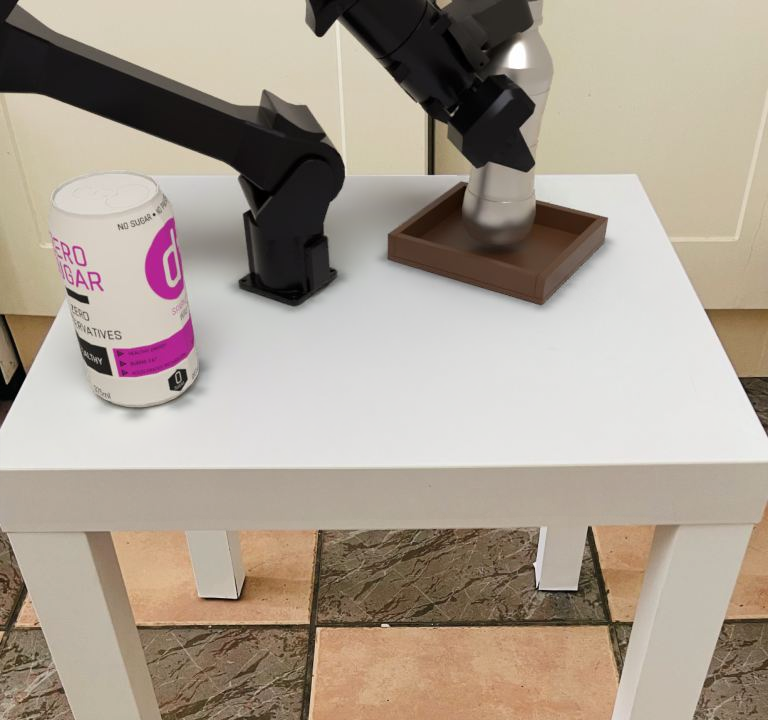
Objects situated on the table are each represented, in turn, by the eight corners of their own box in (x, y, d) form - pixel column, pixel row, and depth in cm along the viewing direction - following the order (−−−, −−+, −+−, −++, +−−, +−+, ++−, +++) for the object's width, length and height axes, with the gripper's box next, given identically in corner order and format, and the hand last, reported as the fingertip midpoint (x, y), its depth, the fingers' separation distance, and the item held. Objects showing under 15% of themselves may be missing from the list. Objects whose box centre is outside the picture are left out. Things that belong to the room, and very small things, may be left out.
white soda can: (214, 356, 73) (186, 171, 63) (176, 418, 67) (138, 224, 57) (119, 346, 74) (76, 162, 64) (73, 405, 68) (17, 213, 58)
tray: (387, 259, 85) (387, 233, 83) (459, 205, 93) (461, 180, 91) (541, 305, 78) (545, 278, 77) (604, 242, 87) (608, 217, 85)
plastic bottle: (484, 216, 88) (504, -18, 75) (545, 236, 85) (578, -5, 72) (446, 239, 84) (460, -3, 71) (509, 261, 81) (536, 12, 68)
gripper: (523, -35, 61) (641, 119, 71) (433, -87, 74) (543, 48, 84) (407, 99, 65) (534, 228, 74) (341, 26, 78) (456, 143, 88)
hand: (518, 155), depth 80 cm, fingers closed on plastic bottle, 5 cm apart
